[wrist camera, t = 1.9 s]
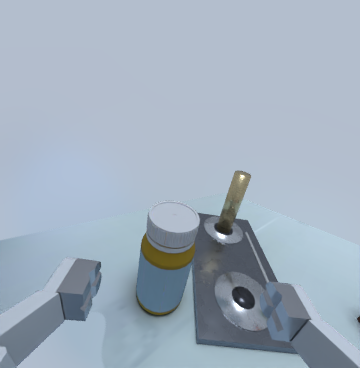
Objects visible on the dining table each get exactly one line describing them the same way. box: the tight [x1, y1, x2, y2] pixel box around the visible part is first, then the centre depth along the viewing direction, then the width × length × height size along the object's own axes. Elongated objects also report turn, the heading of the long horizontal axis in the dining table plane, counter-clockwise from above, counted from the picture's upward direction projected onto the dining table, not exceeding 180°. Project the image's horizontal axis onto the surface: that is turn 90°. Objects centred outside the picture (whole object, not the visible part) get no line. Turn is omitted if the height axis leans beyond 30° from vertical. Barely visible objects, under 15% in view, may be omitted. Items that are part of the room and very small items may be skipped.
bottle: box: [136, 201, 200, 315], centre depth 26 cm, size 7×7×15 cm
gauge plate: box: [192, 171, 298, 354], centre depth 33 cm, size 15×27×15 cm, turn 179°
